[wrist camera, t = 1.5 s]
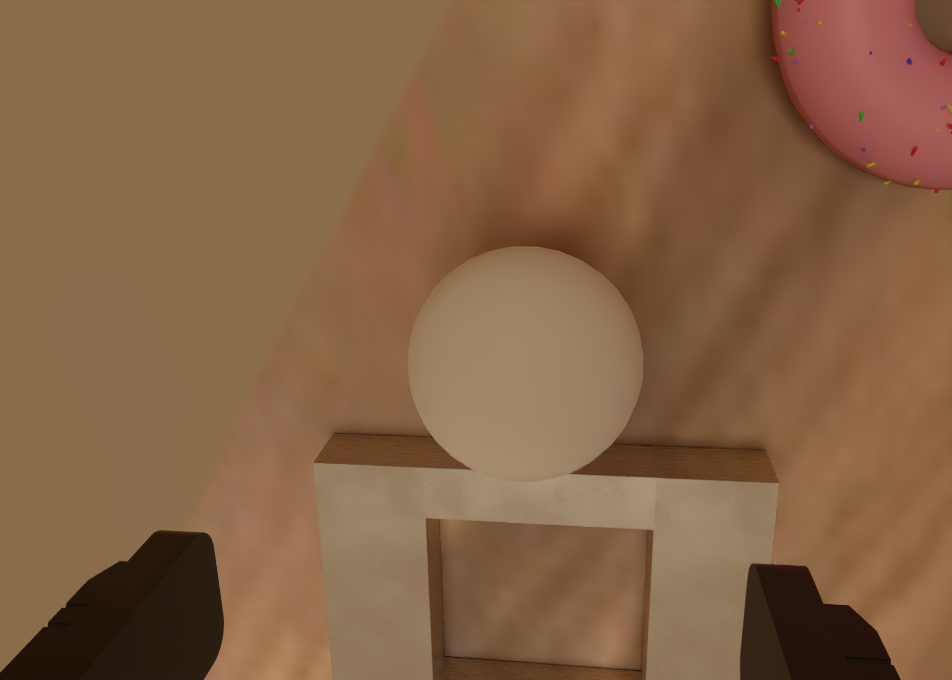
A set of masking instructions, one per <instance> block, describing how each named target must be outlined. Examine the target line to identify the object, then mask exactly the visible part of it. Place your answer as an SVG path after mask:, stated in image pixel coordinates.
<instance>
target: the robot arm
mask: <svg viewBox="0 0 952 680" xmlns="http://www.w3.org/2000/svg"><path fill="white" fill-rule="evenodd" d="M223 631H224V617H223V609H222V602H221V595H220V587H219V580H218V573H217V566H216V559H215V551H214V545H213V542H212V539H211V537H210V536H209V535H208V534H207V533H201V532H182V531H162V530H160V531H156V532H155V533H153V534H152V535H151V536H150V537H149V538H148V540H147V541H146V542H145V543H144V544H143V545H142V546H141V547H140V548H139V549H138V551H137V552H136V553H135V554H134V555H133V556H132V557H131V558H130V559H129V561H128V562H126V561H119V562H118V563H116V564H114V565H113V566H111V567H109V568H108V569H106V570H104V571H103V572H101V573H99V574H98V575H96V576H94V577H93V578H91V579H89V580H88V581H87V582H86V583H85V584H84V585H83V586H82V587H81V588H80V589H79V590H78V591H77V593H76V594H75V595H74V596H73V597H72V598H71V599H70V600H69V601H68V602H67V603H66V608H61V609H60V611H58V612H57V614H56V615H55V616H54V617H53V618H52V619H51V620H50V621H49V622H48V627H43V628H42V629H41V630H40V631H39V632H38V634H37V635H36V636H35V637H34V638H33V639H32V640H31V641H30V642H29V643H28V644H27V645H26V646H25V647H24V648H23V649H22V650H21V651H20V653H19V654H18V655H17V656H16V657H15V658H14V659H13V660H12V661H11V662H10V663H9V664H8V665H7V666H6V667H5V668H4V669H3V670H2V672H0V680H204V678H205V677H206V675H207V673H208V672H209V670H210V669H211V667H212V665H213V664H214V662H215V660H216V658H217V656H218V653H219V650H220V647H221V643H222V638H223ZM740 680H901V679H900V677H899V675H898V673H897V671H896V669H895V667H894V665H891V659H890V657H889V655H888V653H887V651H886V649H885V647H884V645H883V643H882V641H881V639H880V637H879V635H878V633H877V631H876V630H875V629H874V628H873V627H872V626H871V625H870V624H869V623H867V622H866V621H865V620H864V619H863V618H862V617H861V616H860V615H859V614H858V613H856V612H855V611H854V610H853V609H852V608H851V607H850V606H849V605H833V604H823V602H822V600H821V597H820V595H819V592H818V590H817V588H816V585H815V583H814V580H813V578H812V576H811V573H810V571H809V569H808V568H807V567H806V566H793V565H774V564H756V563H752V564H751V565H750V567H749V571H748V577H747V587H746V598H745V608H744V619H743V629H742V640H741V650H740Z"/></svg>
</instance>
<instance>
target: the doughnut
mask: <svg viewBox="0 0 952 680" xmlns="http://www.w3.org/2000/svg"><path fill="white" fill-rule="evenodd" d="M771 19H772V29H773V36H774V43H775V49H776V55H777V57H775V56H773V58H772V60H775V61H778V63H779V67H780V71H781V74H782V78H783V81H784V84H785V87H786V90H787V92H788V94H789V97H790V99H791V101H792V103H793V104H794V106H795V108H796V109H797V111H798V112H799V114H800V115H801V116H802V118H803V119H804V121H805V122H806V123H807V124H808V126H809V127H810V129H812V131H813V132H814V133H815V134H816V135H817V136H818V137H819V139H820V140H821V141H822V142H823V143H824V144H825V145H826V146H827V147H828V148H830V149H831V150H832V151H833V152H834V153H835V154H837V155H838V156H840V157H841V158H843V159H844V160H845V161H847V162H849V163H850V164H852V165H854V166H855V167H857V168H859V169H861V170H863V171H865V172H867V173H869V174H871V175H874V176H876V177H878V178H881V179H884V180H887V181H885V182H884V185H887V184H889V183H891V182H893V183H897V184H900V185H904V186H909V187H914V188H922V189H935V193H938V192H939V190H946V189H952V53H950V52H947V51H945V50H943V49H941V48H939V47H937V46H936V45H934V44H933V43H932V42H931V41H930V40H929V39H928V38H927V37H926V36H925V34H924V33H923V31H922V30H921V28H920V26H919V23H918V20H917V16H916V10H915V0H771Z"/></svg>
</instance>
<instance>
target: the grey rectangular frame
mask: <svg viewBox="0 0 952 680" xmlns="http://www.w3.org/2000/svg"><path fill="white" fill-rule="evenodd" d="M313 468H314V479H315V490H316V501H317V512H318V523H319V534H320V545H321V556H322V567H323V578H324V589H325V600H326V611H327V622H328V633H329V643H330V654H331V665H332V676H333V680H740V650H741V640H742V629H743V619H744V608H745V598H746V587H747V577H748V571H749V567H750V565H751V564H752V563H756V564H771V560H772V550H773V540H774V531H775V521H776V511H777V502H778V492H779V481H778V479H777V476H776V474H775V472H774V469H773V467H772V465H771V462H770V460H769V458H768V455H767V453H766V450H750V449H724V448H698V447H672V446H647V445H621V444H612V445H611V446H609V447H608V448H607V449H606V450H605V451H604V452H602V453H601V454H600V455H599V456H598V457H596V458H595V459H594V460H593V461H592V462H590V463H588V464H587V465H585V466H583V467H581V468H579V469H578V470H576V471H574V472H572V473H569V474H566V475H563V476H560V477H557V478H554V479H549V480H542V481H535V482H522V481H508V480H504V479H499V478H494V477H490V476H487V475H485V474H483V473H480V472H478V471H475V470H473V469H471V468H469V467H467V466H466V465H464V464H463V463H461V462H459V461H458V460H456V459H455V458H453V457H452V456H451V455H450V454H449V453H448V452H447V451H446V450H444V449H443V448H442V447H441V446H440V445H439V444H438V443H437V442H436V440H435V439H434V438H433V437H415V436H389V435H363V434H337V433H333V435H332V436H331V438H330V439H329V441H328V442H327V443H326V445H325V446H324V448H323V449H322V451H321V452H320V454H319V455H318V456H317V458H316V459H315V461H314V462H313ZM439 519H453V520H472V521H491V522H510V523H530V524H549V525H568V526H588V527H607V528H626V529H646V530H648V532H647V553H646V573H645V593H644V613H643V633H642V654H641V671H631V670H617V669H604V668H590V667H576V666H563V665H549V664H536V663H522V662H509V661H495V660H482V659H468V658H455V657H445V651H444V626H443V600H442V575H441V550H440V525H439Z"/></svg>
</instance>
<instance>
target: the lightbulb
mask: <svg viewBox="0 0 952 680" xmlns="http://www.w3.org/2000/svg"><path fill="white" fill-rule="evenodd" d="M407 366H408V382H409V386H410V390H411V394H412V398H413V401H414V404H415V406H416V409H417V411H418V413H419V415H420V417H421V419H422V421H423V423H424V425H425V427H426V428H427V430H428V431H429V432H430V434H431V435H432V436H433V438H434V439H435V440H436V442H437V443H438V444H439V445H440V446H441V447H442V448H443V449H444V450H446V451H447V452H448V453H449V454H450V455H451V456H452V457H453V458H455V459H456V460H458V461H459V462H461V463H463V464H464V465H466V466H467V467H469V468H471V469H473V470H475V471H478V472H480V473H483V474H485V475H487V476H490V477H494V478H499V479H504V480H508V481H522V482H535V481H542V480H549V479H554V478H557V477H560V476H563V475H566V474H569V473H572V472H574V471H576V470H578V469H579V468H581V467H583V466H585V465H587V464H588V463H590V462H592V461H593V460H594V459H595V458H596V457H598V456H599V455H600V454H601V453H602V452H604V451H605V450H606V449H607V448H608V447H609V446H611V445H612V444H613V442H614V441H615V440H616V438H617V437H618V436H619V435H620V433H621V432H622V431H623V430H624V428H625V427H626V425H627V423H628V421H629V419H630V417H631V415H632V413H633V411H634V409H635V406H636V404H637V402H638V398H639V394H640V390H641V386H642V382H643V368H644V356H643V350H642V344H641V338H640V333H639V328H638V326H637V323H636V321H635V318H634V316H633V313H632V311H631V308H630V307H629V305H628V304H627V302H626V301H625V299H624V298H623V296H622V295H621V294H620V292H619V291H618V289H617V288H616V287H615V286H614V285H613V284H612V283H611V282H610V281H609V280H608V279H607V278H606V277H605V276H604V275H603V274H602V273H600V272H599V271H597V270H596V269H594V268H593V267H591V266H590V265H588V264H587V263H585V262H584V261H582V260H580V259H578V258H576V257H573V256H571V255H568V254H566V253H563V252H561V251H558V250H553V249H548V248H543V247H538V246H512V247H507V248H502V249H496V250H491V251H488V252H485V253H483V254H481V255H478V256H476V257H473V258H471V259H468V260H467V261H465V262H464V263H462V264H461V265H459V266H458V267H456V268H455V269H453V270H452V271H450V272H449V273H448V274H447V275H446V276H445V277H444V278H443V279H442V280H441V281H440V282H439V283H438V284H437V285H436V286H435V287H434V289H433V290H432V292H431V293H430V295H429V296H428V298H427V299H426V301H425V302H424V304H423V306H422V307H421V309H420V310H419V312H418V314H417V317H416V320H415V322H414V325H413V328H412V330H411V334H410V341H409V348H408V356H407Z"/></svg>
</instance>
